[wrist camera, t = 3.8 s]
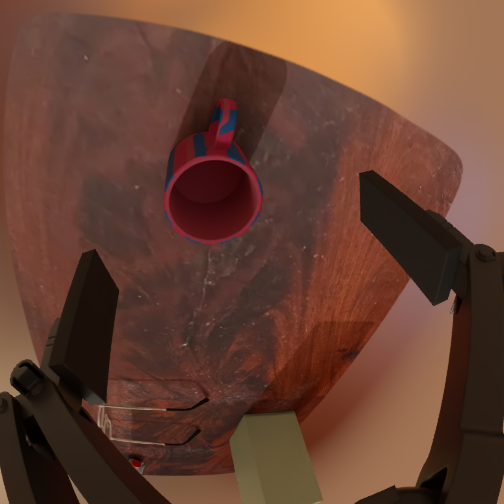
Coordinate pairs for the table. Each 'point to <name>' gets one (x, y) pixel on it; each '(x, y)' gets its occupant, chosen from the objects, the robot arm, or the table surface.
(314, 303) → the table surface
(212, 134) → the mug
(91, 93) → the table surface
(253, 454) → the bin
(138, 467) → the figurine
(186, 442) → the eyeglasses
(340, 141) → the table surface
